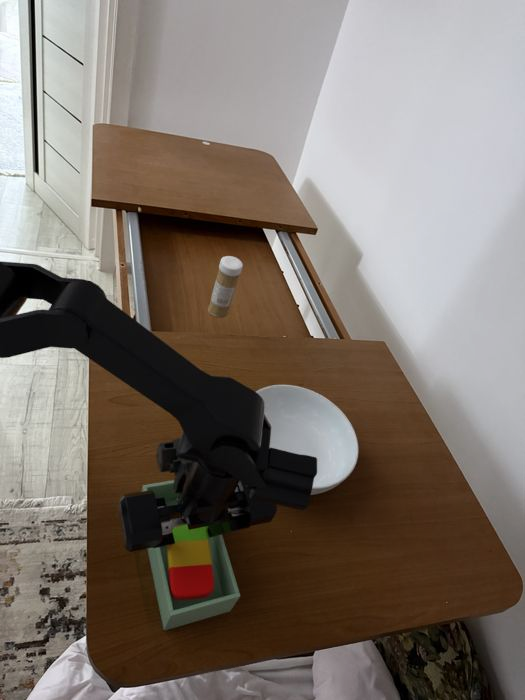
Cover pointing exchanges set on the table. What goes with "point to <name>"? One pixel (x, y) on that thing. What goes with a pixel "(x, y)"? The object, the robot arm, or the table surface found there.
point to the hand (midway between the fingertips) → (187, 538)
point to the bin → (224, 579)
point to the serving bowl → (311, 432)
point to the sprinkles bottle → (225, 286)
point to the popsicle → (190, 564)
